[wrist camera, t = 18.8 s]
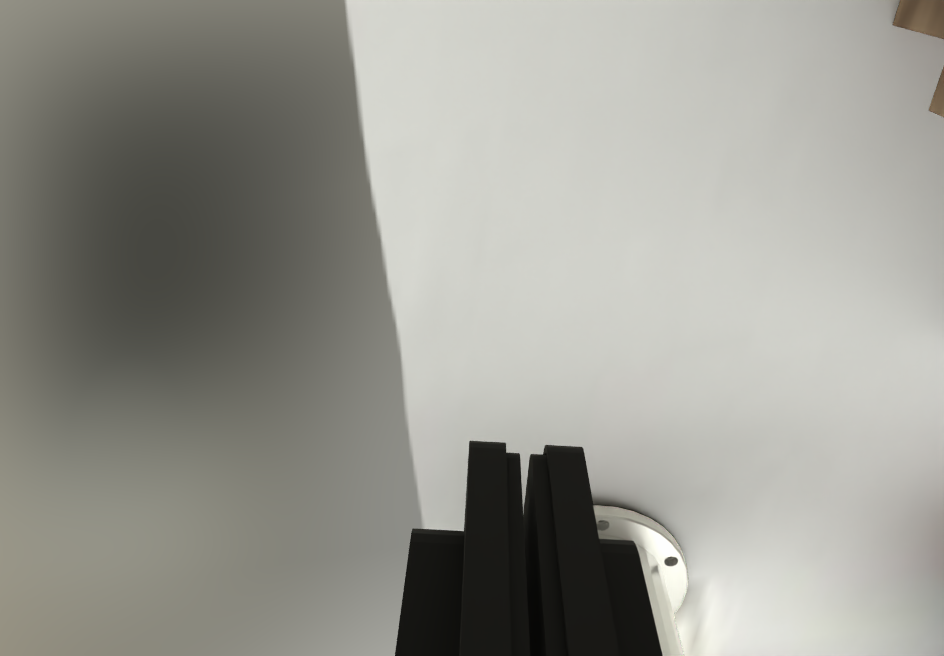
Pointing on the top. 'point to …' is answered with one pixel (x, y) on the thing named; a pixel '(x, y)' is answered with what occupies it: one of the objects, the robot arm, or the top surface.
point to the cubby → (929, 12)
